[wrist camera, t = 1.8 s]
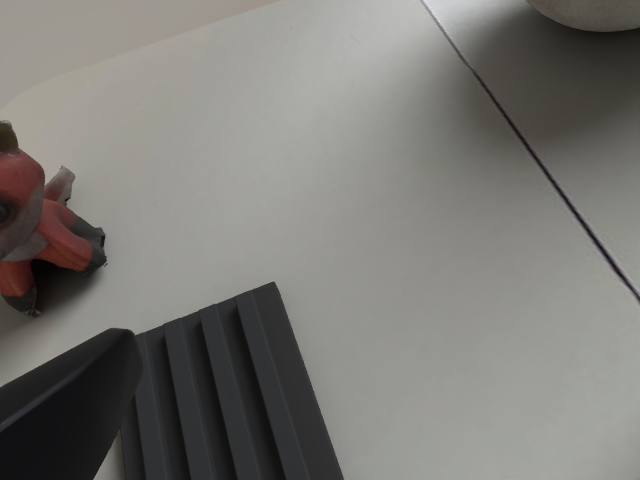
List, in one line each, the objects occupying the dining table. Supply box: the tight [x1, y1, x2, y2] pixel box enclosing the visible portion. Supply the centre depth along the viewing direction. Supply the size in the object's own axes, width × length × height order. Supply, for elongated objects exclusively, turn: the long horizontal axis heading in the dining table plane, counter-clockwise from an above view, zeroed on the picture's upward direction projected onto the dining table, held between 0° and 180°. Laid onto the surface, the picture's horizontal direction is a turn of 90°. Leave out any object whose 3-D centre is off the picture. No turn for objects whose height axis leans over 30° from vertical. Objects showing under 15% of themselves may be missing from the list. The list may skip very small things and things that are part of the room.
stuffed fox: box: [0, 121, 107, 317], centre depth 31 cm, size 8×11×12 cm
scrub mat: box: [120, 282, 344, 480], centre depth 26 cm, size 16×10×2 cm, turn 19°
